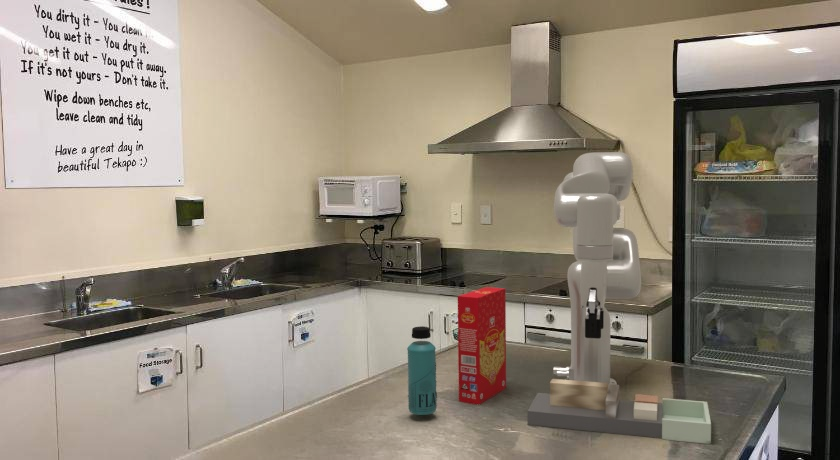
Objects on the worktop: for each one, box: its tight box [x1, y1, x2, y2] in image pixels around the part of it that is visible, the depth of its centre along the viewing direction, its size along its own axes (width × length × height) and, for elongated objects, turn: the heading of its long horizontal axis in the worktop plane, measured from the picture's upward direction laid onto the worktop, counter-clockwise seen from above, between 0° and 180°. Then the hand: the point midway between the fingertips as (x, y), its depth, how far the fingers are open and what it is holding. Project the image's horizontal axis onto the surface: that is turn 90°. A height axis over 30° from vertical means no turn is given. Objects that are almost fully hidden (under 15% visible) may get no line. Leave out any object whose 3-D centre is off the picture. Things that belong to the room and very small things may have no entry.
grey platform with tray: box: [526, 392, 712, 445], centre depth 150 cm, size 36×14×4 cm, turn 71°
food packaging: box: [457, 286, 507, 406], centre depth 170 cm, size 15×5×25 cm, turn 148°
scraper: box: [549, 378, 620, 418], centre depth 152 cm, size 14×12×5 cm
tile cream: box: [634, 402, 657, 421], centre depth 145 cm, size 4×4×2 cm
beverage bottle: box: [406, 325, 438, 416], centre depth 155 cm, size 6×7×20 cm
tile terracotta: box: [634, 393, 659, 404], centre depth 151 cm, size 4×4×2 cm
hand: (594, 333), depth 151 cm, fingers open, 9 cm apart
